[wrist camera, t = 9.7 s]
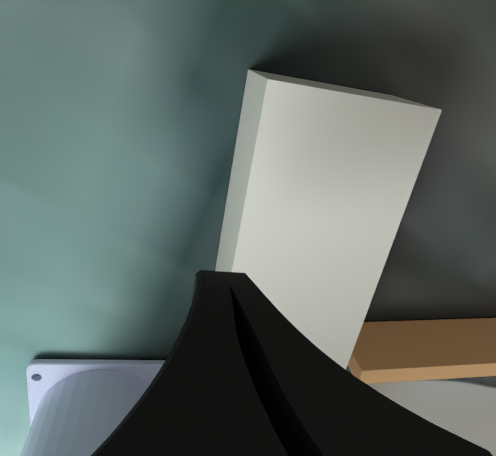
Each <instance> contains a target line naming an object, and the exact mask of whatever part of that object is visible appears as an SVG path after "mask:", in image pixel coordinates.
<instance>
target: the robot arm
mask: <svg viewBox="0 0 496 456" xmlns="http://www.w3.org/2000/svg"><path fill="white" fill-rule="evenodd" d="M26 372H27V385H28V398H29V411H30V424H31V427H30V430H29V433H28V435H27V438H26V441H25V444H24V446H23V449H22V452H21V455H20V456H492V455H491V453H490V452H489V451H488V450H486V449H484V448H482V447H479V446H478V445H476V444H474V443H471V442H469V441H467V440H465V439H463V438H461V437H459V436H457V435H455V434H453V433H451V432H449V431H447V430H445V429H443V428H440V427H439V426H436V425H435V424H433V423H431V422H429V421H427V420H425V419H423V418H422V417H420V416H418V415H416V414H415V413H413V412H411V411H409V410H407V409H406V408H404V407H402V406H400V405H399V404H397V403H395V402H394V401H392V400H390V399H389V398H387V397H385V396H384V395H382V394H381V393H379V392H377V391H376V390H375V389H373V388H371V387H370V386H369V385H367V384H366V383H364V382H363V381H361V380H360V379H358V378H357V377H355V376H354V375H352V374H351V373H350V372H348V371H347V370H345V369H344V368H343V367H341V366H340V365H339V364H338V363H336V362H335V361H334V360H332V359H331V358H330V357H329V356H327V355H326V354H325V353H324V352H322V351H321V350H320V349H319V348H318V347H316V346H315V345H314V344H313V343H312V342H311V341H310V340H309V339H307V338H306V337H305V336H304V335H303V334H302V333H301V332H300V331H299V330H298V329H297V328H296V327H295V326H294V325H293V324H292V323H291V322H290V321H289V320H288V319H287V318H286V317H285V316H284V315H283V314H282V313H281V312H280V311H279V310H278V309H277V308H276V307H275V306H274V305H273V304H272V303H271V301H270V300H269V299H268V298H267V297H266V296H265V295H264V294H263V293H262V291H261V290H260V289H259V288H258V287H257V286H256V284H255V283H254V282H253V281H252V280H251V279H250V278H249V277H248V275H247V274H246V273H239V272H222V271H205V270H200V271H199V272H197V273H196V276H195V283H194V290H193V298H192V305H191V308H190V311H189V314H188V316H187V319H186V321H185V323H184V326H183V328H182V330H181V332H180V334H179V337H178V339H177V341H176V342H175V344H174V346H173V348H172V350H171V352H170V354H169V355H168V357H167V359H166V360H74V359H35V360H32V361H30V362H29V364H28V366H27V369H26ZM35 374H39V376H38V375H35Z"/></svg>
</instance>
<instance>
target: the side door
mask: <svg viewBox="0 0 496 456" xmlns="http://www.w3.org/2000/svg"><path fill="white" fill-rule="evenodd" d="M348 367H349V369H350V371H351V373H352V374H353V375H354V376H355V377H357V378H358V379H360V380H361V381H363V382H364V383H366V384H375V383H390V382H405V381H421V380H436V379H451V378H466V377H482V376H496V318H476V319H445V320H414V321H383V322H363V325H362V327H361V330H360V333H359V335H358V338H357V341H356V344H355V346H354V349H353V352H352V354H351V357H350V360H349V362H348Z"/></svg>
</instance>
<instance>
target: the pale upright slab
mask: <svg viewBox="0 0 496 456" xmlns="http://www.w3.org/2000/svg"><path fill="white" fill-rule="evenodd" d="M441 111H442V110H441V109H437V108H434V107H430V106H427V105H423V104H420V103H417V102H413V101H410V100H406V99H403V98H400V97H396V96H393V95H388V94H383V93H377V92H372V91H366V90H361V89H355V88H349V87H344V86H338V85H333V84H327V83H322V82H316V81H311V80H305V79H300V78H294V77H289V76H283V75H278V74H272V73H267V72H261V71H255V70H250V69H248V73H247V79H246V85H245V91H244V97H243V103H242V110H241V116H240V122H239V128H238V134H237V140H236V146H235V152H234V158H233V164H232V170H231V176H230V183H229V189H228V195H227V201H226V207H225V213H224V219H223V225H222V231H221V237H220V243H219V249H218V256H217V262H216V268H215V271H222V272H239V273H246V274H247V275H248V277H249V278H250V279H251V280H252V281H253V282H254V283H255V284H256V286H257V287H258V288H259V289H260V290H261V291H262V293H263V294H264V295H265V296H266V297H267V298H268V299H269V300H270V301H271V303H272V304H273V305H274V306H275V307H276V308H277V309H278V310H279V311H280V312H281V313H282V314H283V315H284V316H285V317H286V318H287V319H288V320H289V321H290V322H291V323H292V324H293V325H294V326H295V327H296V328H297V329H298V330H299V331H300V332H301V333H302V334H303V335H304V336H305V337H306V338H307V339H309V340H310V341H311V342H312V343H313V344H314V345H315V346H316V347H318V348H319V349H320V350H321V351H322V352H324V353H325V354H326V355H327V356H329V357H330V358H331V359H332V360H334V361H335V362H336V363H338V364H339V365H340V366H341V367H343V368H344V369H345V370H346V368H347V365H348V362H349V360H350V357H351V354H352V352H353V349H354V346H355V344H356V341H357V338H358V335H359V333H360V330H361V327H362V325H363V322H364V319H365V317H366V314H367V311H368V308H369V306H370V303H371V300H372V298H373V295H374V292H375V290H376V287H377V284H378V281H379V279H380V276H381V273H382V271H383V268H384V265H385V262H386V260H387V257H388V254H389V252H390V249H391V246H392V244H393V241H394V238H395V235H396V233H397V230H398V227H399V225H400V222H401V219H402V217H403V214H404V211H405V208H406V206H407V203H408V200H409V198H410V195H411V192H412V190H413V187H414V184H415V181H416V179H417V176H418V173H419V171H420V168H421V165H422V163H423V160H424V157H425V154H426V152H427V149H428V146H429V144H430V141H431V138H432V136H433V133H434V130H435V127H436V125H437V122H438V119H439V117H440V114H441Z"/></svg>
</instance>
